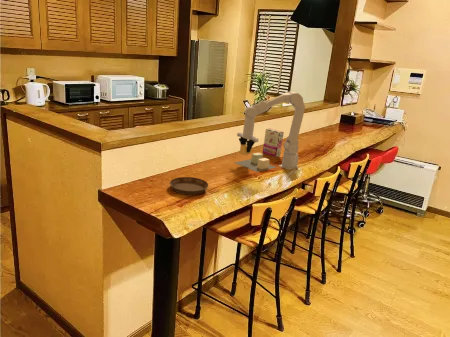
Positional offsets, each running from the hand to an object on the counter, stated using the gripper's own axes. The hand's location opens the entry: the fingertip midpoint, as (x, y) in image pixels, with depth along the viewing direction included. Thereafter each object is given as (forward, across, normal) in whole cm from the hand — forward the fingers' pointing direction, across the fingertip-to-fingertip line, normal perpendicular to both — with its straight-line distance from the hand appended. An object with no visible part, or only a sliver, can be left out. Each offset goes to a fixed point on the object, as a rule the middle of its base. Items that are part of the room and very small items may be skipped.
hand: (245, 151), depth 212 cm
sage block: (+8, +1, +10) cm, 13 cm away
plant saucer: (+8, +13, -52) cm, 54 cm away
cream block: (+8, +10, +5) cm, 14 cm away
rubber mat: (+8, +4, +5) cm, 10 cm away
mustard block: (+1, 0, 0) cm, 1 cm away
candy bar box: (+8, -6, +33) cm, 34 cm away
